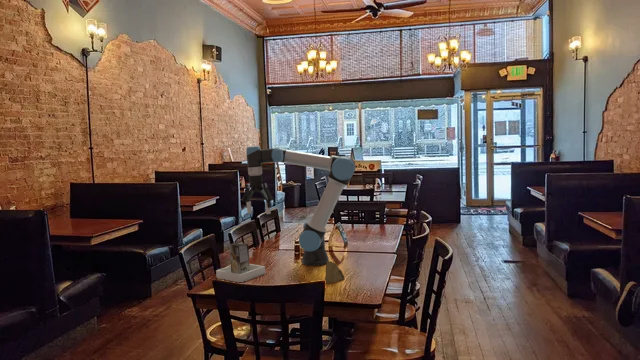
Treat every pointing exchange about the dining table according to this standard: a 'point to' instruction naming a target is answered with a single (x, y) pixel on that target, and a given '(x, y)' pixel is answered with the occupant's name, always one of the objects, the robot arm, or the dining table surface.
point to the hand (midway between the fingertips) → (259, 213)
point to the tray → (227, 275)
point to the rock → (333, 273)
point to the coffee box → (239, 258)
